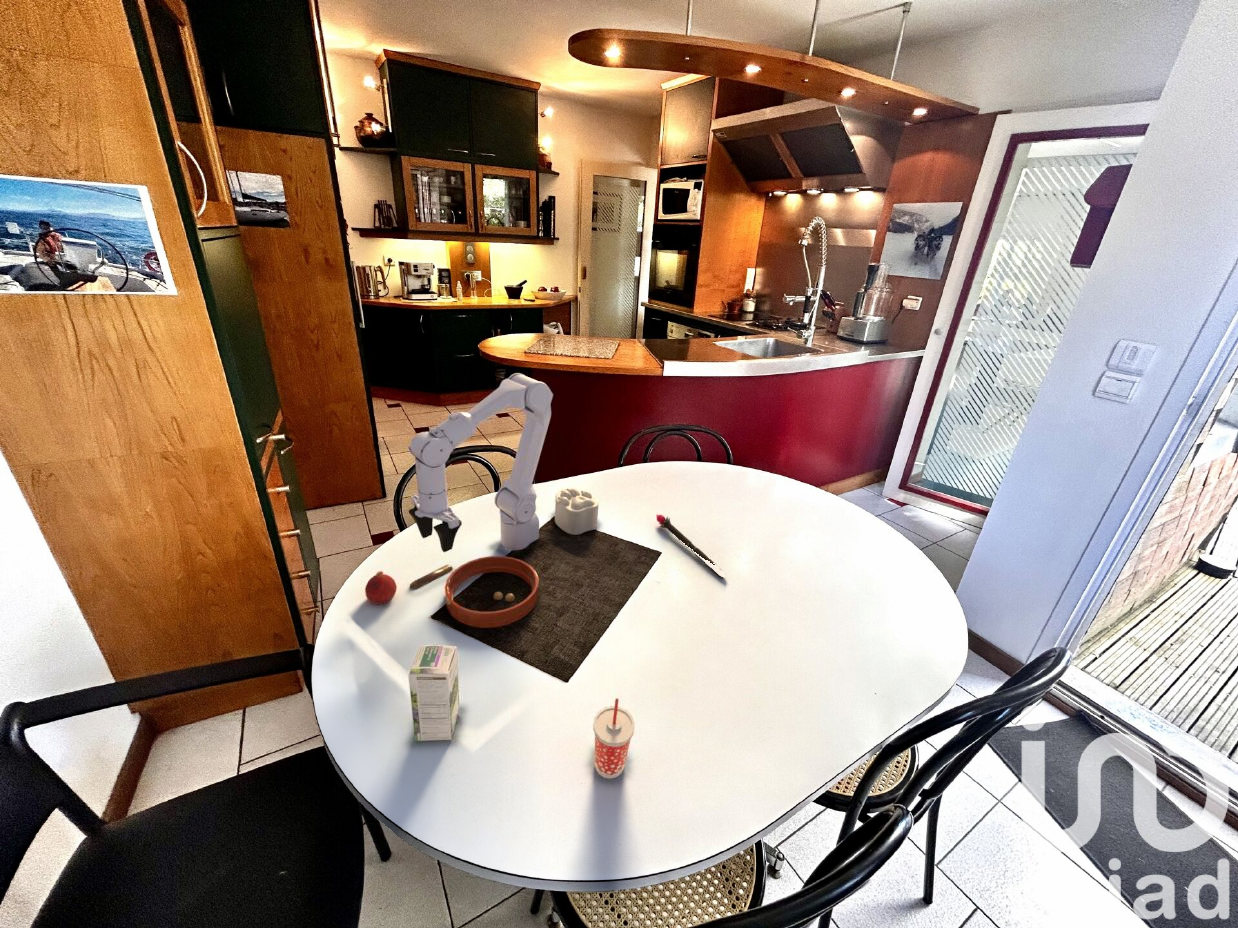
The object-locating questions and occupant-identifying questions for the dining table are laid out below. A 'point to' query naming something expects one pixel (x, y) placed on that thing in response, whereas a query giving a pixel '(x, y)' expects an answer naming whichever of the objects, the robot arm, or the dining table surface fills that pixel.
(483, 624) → the bowl
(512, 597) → the bead
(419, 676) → the syrup box
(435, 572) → the stick
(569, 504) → the lumpy-topped squat cylinder
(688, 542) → the wand
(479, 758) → the dining table surface
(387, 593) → the red round piece
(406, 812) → the dining table surface
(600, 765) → the beverage cup
